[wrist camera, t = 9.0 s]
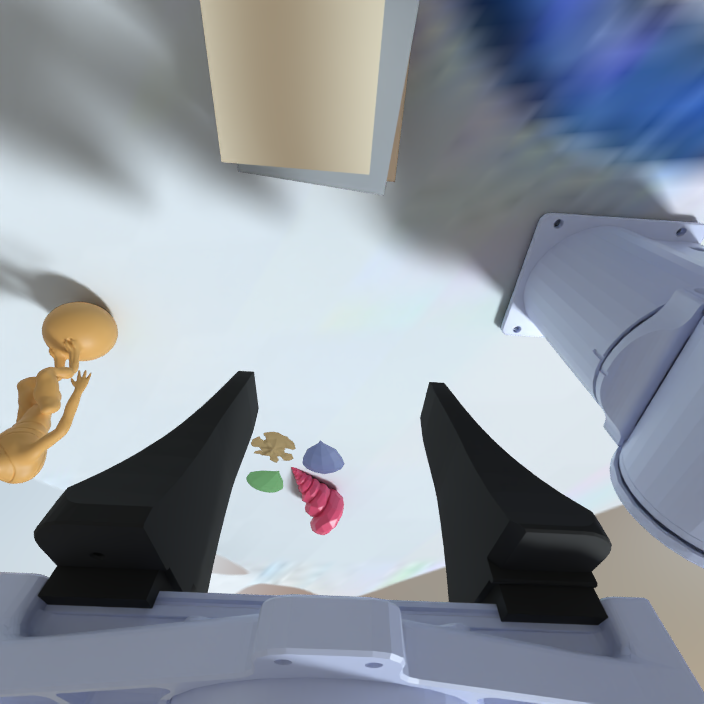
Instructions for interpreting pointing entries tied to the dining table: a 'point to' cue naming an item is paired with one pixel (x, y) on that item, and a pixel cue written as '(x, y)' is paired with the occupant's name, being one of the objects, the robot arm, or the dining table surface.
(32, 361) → the dining table surface
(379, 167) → the slate grey block
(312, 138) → the birch block
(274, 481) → the toy pieces
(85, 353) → the figurine
